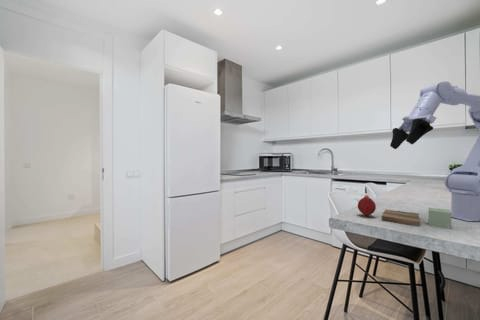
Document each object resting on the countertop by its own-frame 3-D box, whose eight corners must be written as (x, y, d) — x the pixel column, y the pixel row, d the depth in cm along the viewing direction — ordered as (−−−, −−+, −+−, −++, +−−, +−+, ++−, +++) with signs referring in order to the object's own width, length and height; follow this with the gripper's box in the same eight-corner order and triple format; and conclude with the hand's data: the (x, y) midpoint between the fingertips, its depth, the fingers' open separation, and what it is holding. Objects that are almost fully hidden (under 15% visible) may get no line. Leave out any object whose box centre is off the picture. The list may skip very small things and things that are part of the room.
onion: (378, 218, 77) (378, 196, 76) (360, 218, 78) (360, 196, 78) (372, 214, 82) (372, 193, 82) (355, 213, 83) (355, 193, 83)
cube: (428, 222, 72) (428, 207, 72) (449, 225, 69) (449, 209, 69) (429, 226, 69) (429, 210, 68) (451, 229, 65) (451, 213, 65)
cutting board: (385, 213, 84) (385, 209, 84) (418, 217, 78) (418, 213, 78) (381, 220, 74) (381, 216, 74) (419, 226, 68) (419, 221, 68)
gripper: (396, 114, 80) (377, 142, 79) (429, 97, 66) (406, 132, 64) (413, 125, 79) (394, 154, 78) (450, 110, 65) (427, 145, 64)
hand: (400, 145), depth 71 cm, fingers open, 7 cm apart
